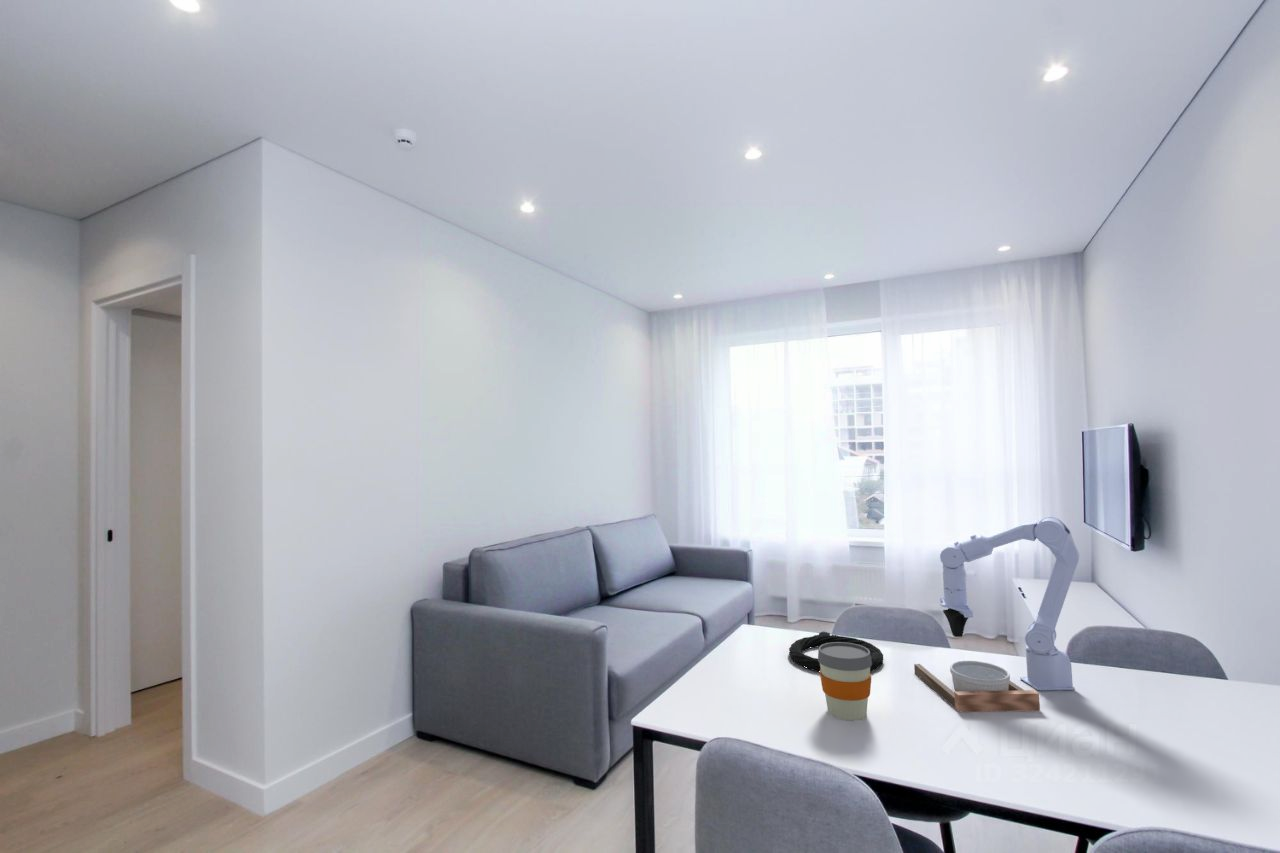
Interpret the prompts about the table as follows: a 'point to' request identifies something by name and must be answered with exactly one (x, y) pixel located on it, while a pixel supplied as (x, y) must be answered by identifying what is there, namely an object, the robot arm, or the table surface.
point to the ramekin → (979, 676)
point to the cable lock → (823, 639)
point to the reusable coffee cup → (845, 679)
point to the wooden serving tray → (983, 696)
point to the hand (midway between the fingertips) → (957, 636)
